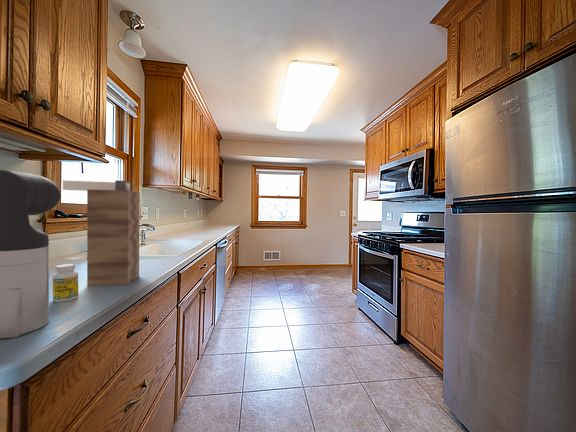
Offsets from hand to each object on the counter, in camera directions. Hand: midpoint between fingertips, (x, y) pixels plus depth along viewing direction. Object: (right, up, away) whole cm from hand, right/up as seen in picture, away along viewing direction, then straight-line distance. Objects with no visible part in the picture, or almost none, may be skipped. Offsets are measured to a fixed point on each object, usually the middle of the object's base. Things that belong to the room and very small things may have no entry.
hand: (33, 197), depth 81 cm
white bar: (+18, +3, +4) cm, 19 cm away
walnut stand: (+23, -29, +6) cm, 38 cm away
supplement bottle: (+22, -30, -12) cm, 39 cm away
